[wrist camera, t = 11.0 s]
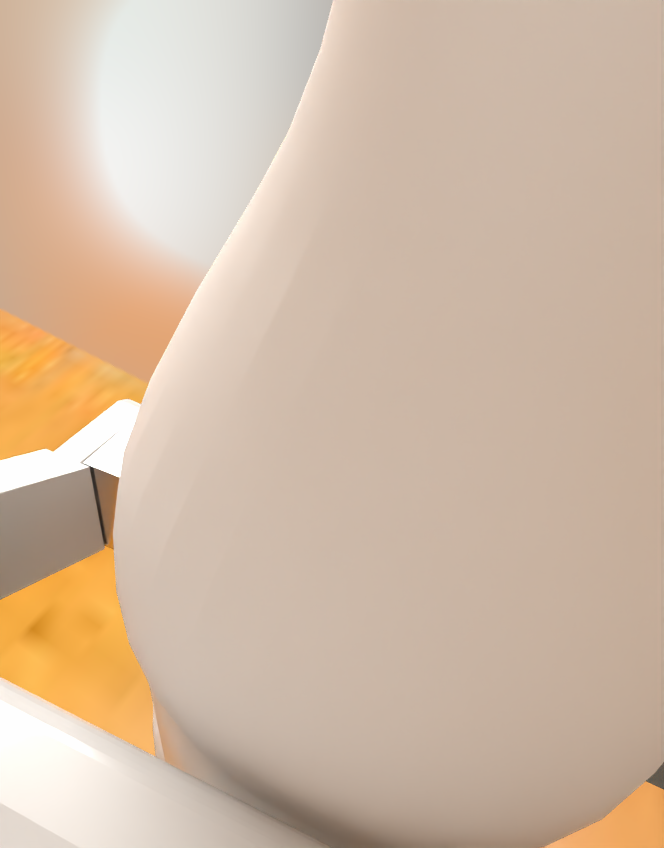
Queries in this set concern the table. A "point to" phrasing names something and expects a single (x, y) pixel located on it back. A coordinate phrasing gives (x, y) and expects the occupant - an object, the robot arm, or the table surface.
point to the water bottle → (422, 441)
